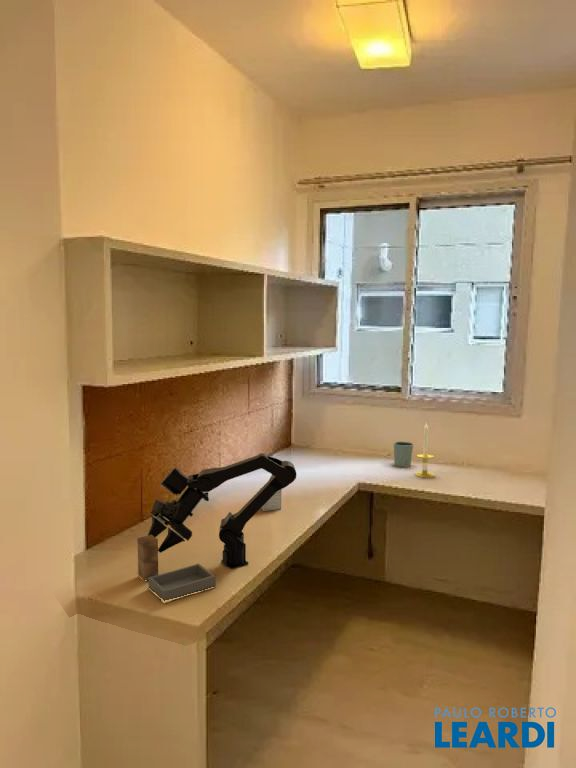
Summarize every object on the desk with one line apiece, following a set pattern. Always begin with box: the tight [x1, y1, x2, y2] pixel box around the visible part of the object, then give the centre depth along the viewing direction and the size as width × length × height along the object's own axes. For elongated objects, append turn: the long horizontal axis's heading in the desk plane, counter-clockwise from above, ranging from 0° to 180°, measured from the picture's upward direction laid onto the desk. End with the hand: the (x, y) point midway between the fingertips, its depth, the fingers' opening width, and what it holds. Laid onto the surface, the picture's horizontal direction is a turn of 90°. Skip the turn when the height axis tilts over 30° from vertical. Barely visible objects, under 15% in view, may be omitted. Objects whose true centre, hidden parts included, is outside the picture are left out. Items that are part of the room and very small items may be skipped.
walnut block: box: [137, 534, 159, 582], centre depth 169 cm, size 4×4×12 cm
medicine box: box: [259, 487, 283, 512], centre depth 231 cm, size 8×4×9 cm, turn 111°
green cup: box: [393, 440, 414, 468], centre depth 301 cm, size 10×10×12 cm
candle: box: [414, 422, 436, 479], centre depth 282 cm, size 10×10×27 cm
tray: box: [147, 563, 216, 601], centre depth 163 cm, size 16×10×4 cm, turn 127°
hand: (152, 546), depth 170 cm, fingers open, 9 cm apart
